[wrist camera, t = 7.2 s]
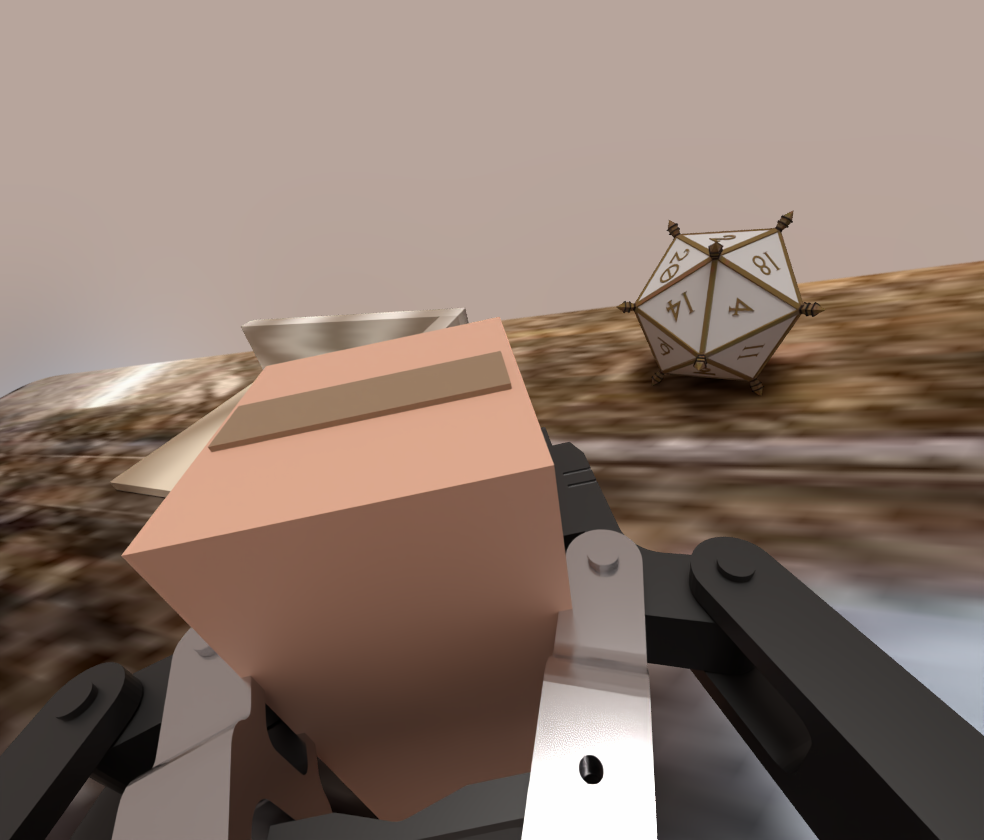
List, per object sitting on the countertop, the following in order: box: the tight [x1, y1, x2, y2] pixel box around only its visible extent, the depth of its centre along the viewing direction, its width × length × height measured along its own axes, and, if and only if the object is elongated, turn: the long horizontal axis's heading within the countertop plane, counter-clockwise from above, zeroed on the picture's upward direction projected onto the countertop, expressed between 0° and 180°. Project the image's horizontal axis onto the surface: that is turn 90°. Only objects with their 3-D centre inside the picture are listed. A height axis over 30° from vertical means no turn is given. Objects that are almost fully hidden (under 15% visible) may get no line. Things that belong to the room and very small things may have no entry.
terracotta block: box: [122, 317, 572, 822], centre depth 10 cm, size 5×5×10 cm
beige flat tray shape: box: [110, 308, 468, 497], centre depth 26 cm, size 18×14×5 cm
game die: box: [617, 211, 826, 396], centre depth 22 cm, size 9×8×10 cm
